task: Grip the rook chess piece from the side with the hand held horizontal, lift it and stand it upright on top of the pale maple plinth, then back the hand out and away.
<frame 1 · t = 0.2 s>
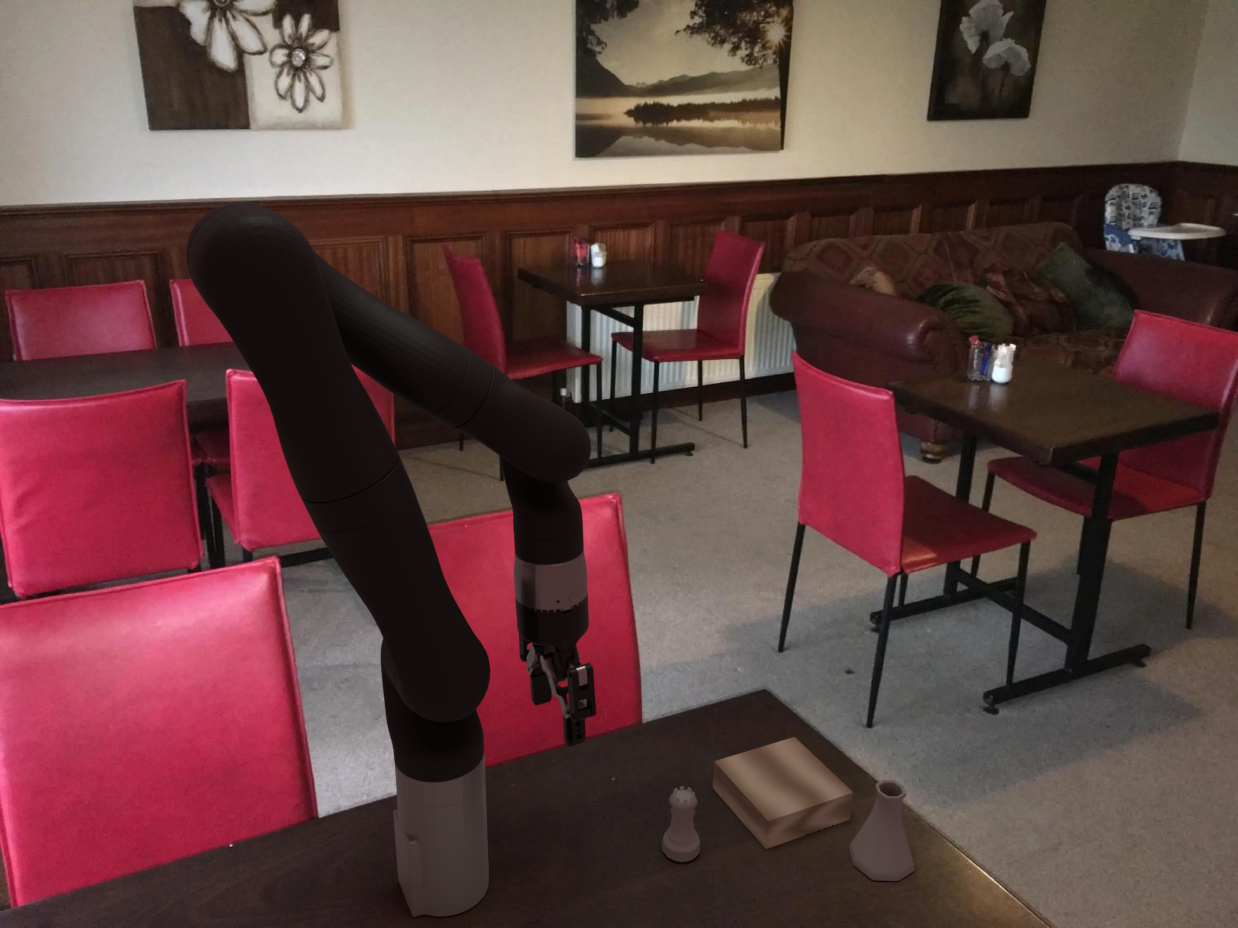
hand: (558, 721, 112), 17 cm above the table, tool pointing down, fingers open, 8 cm apart
maple plinth: (779, 803, 126), on the table
flask: (880, 861, 118), on the table
rook chess piece: (680, 851, 119), on the table
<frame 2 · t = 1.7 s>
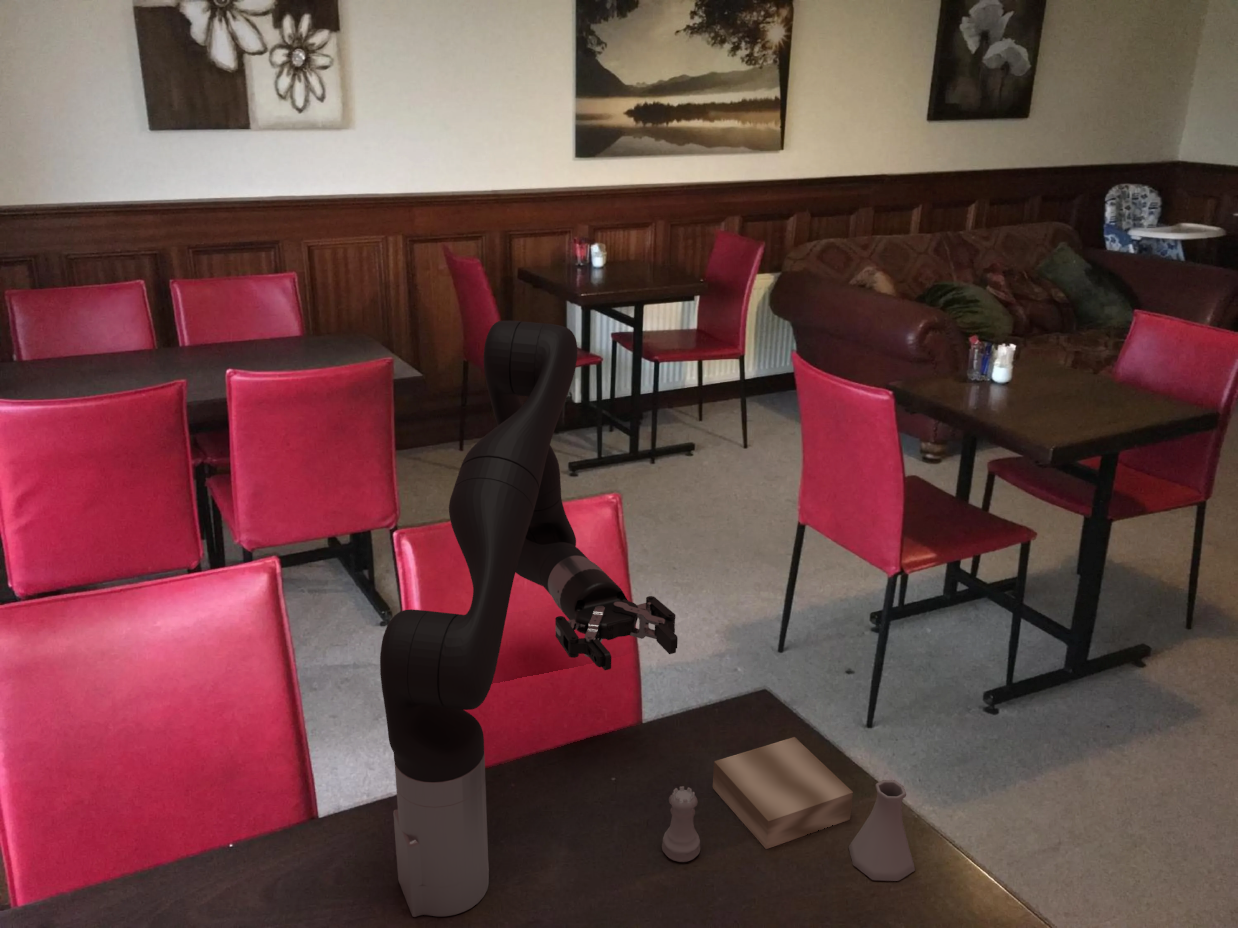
hand: (641, 654, 121), 20 cm above the table, tool horizontal, fingers open, 8 cm apart
nothing on the table moved.
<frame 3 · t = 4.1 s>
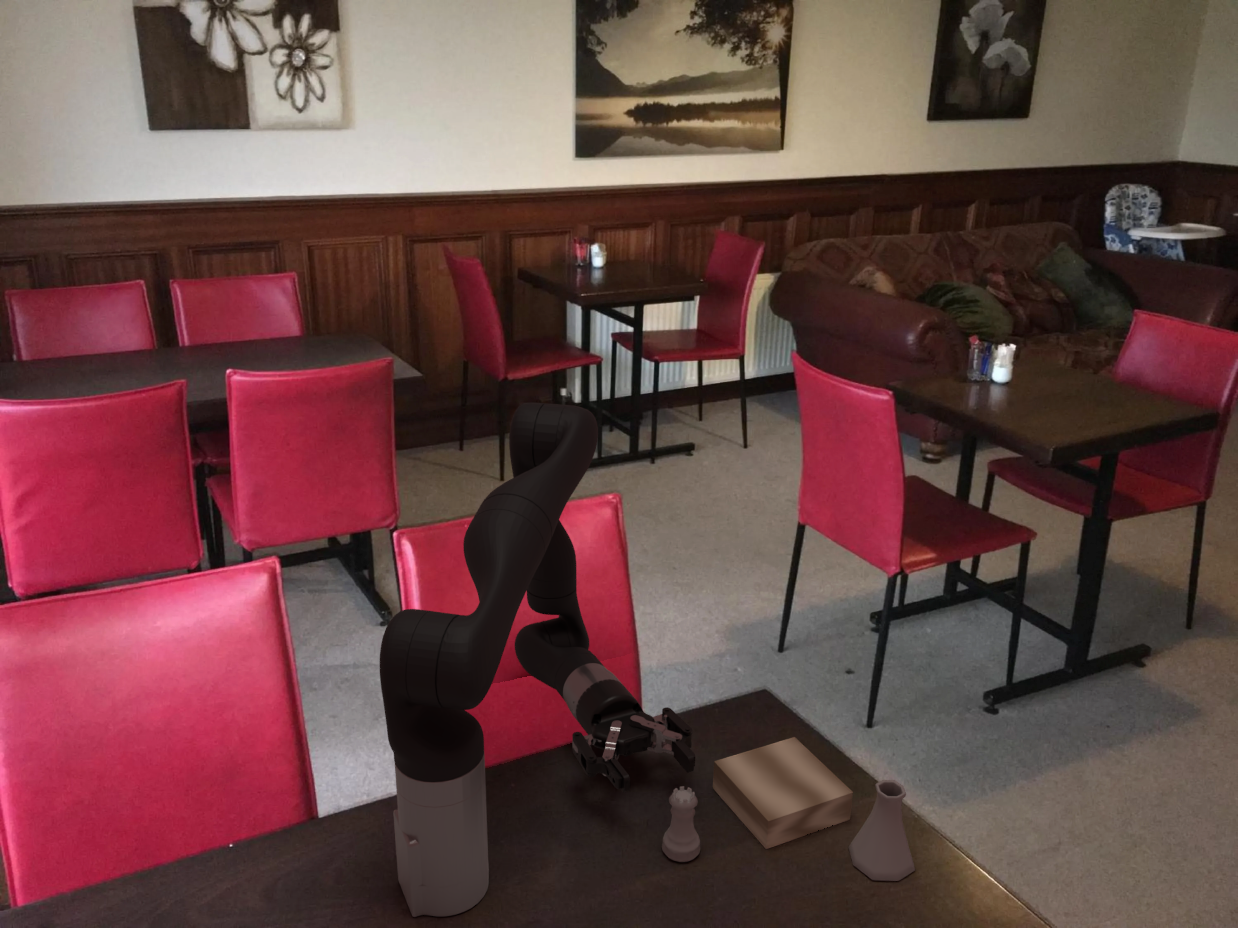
hand: (660, 775, 121), 7 cm above the table, tool horizontal, fingers open, 8 cm apart
nothing on the table moved.
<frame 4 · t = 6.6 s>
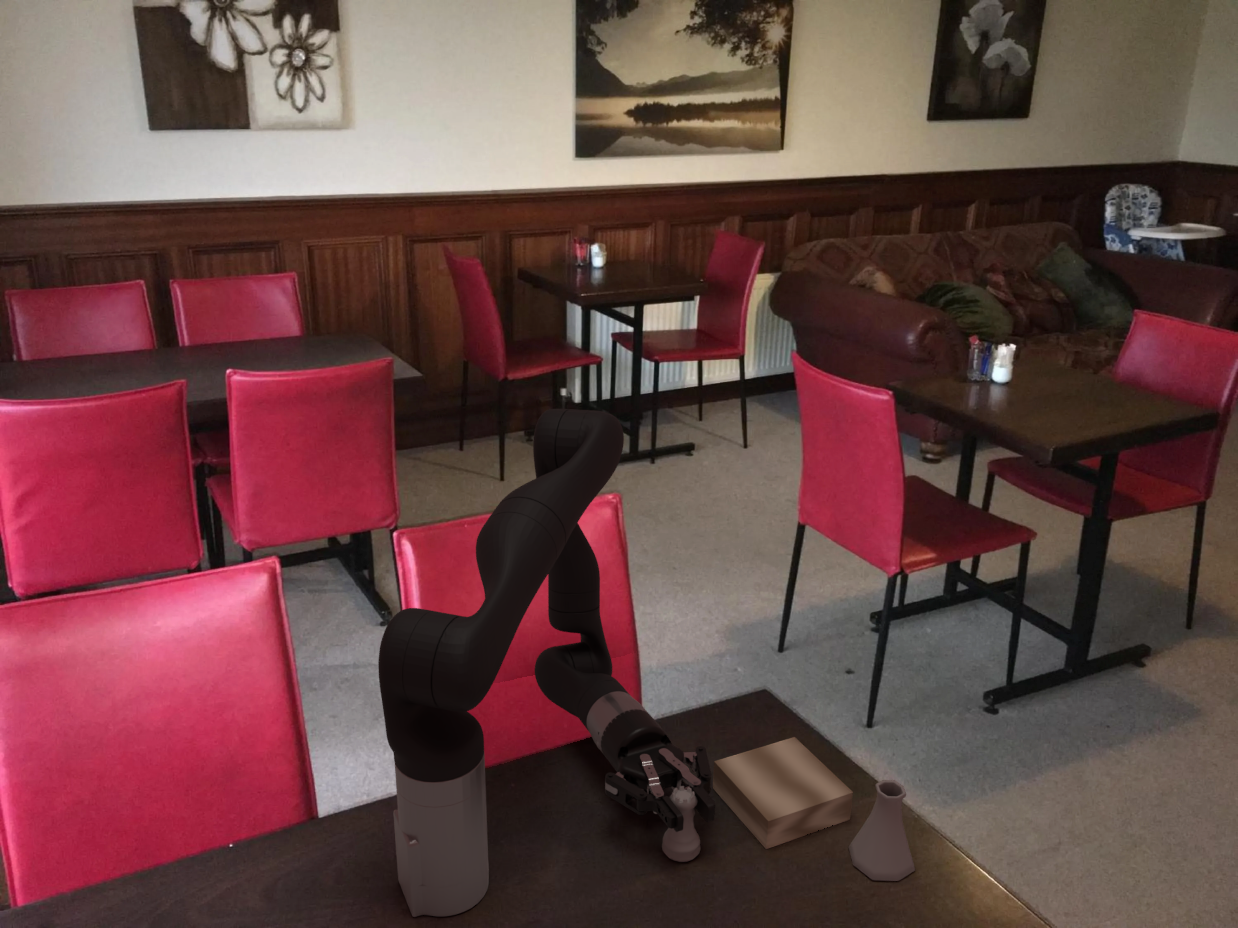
hand: (695, 819, 114), 7 cm above the table, tool horizontal, fingers closed on rook chess piece, 3 cm apart
rook chess piece: (680, 851, 119), on the table, touching gripper
everything else where it was.
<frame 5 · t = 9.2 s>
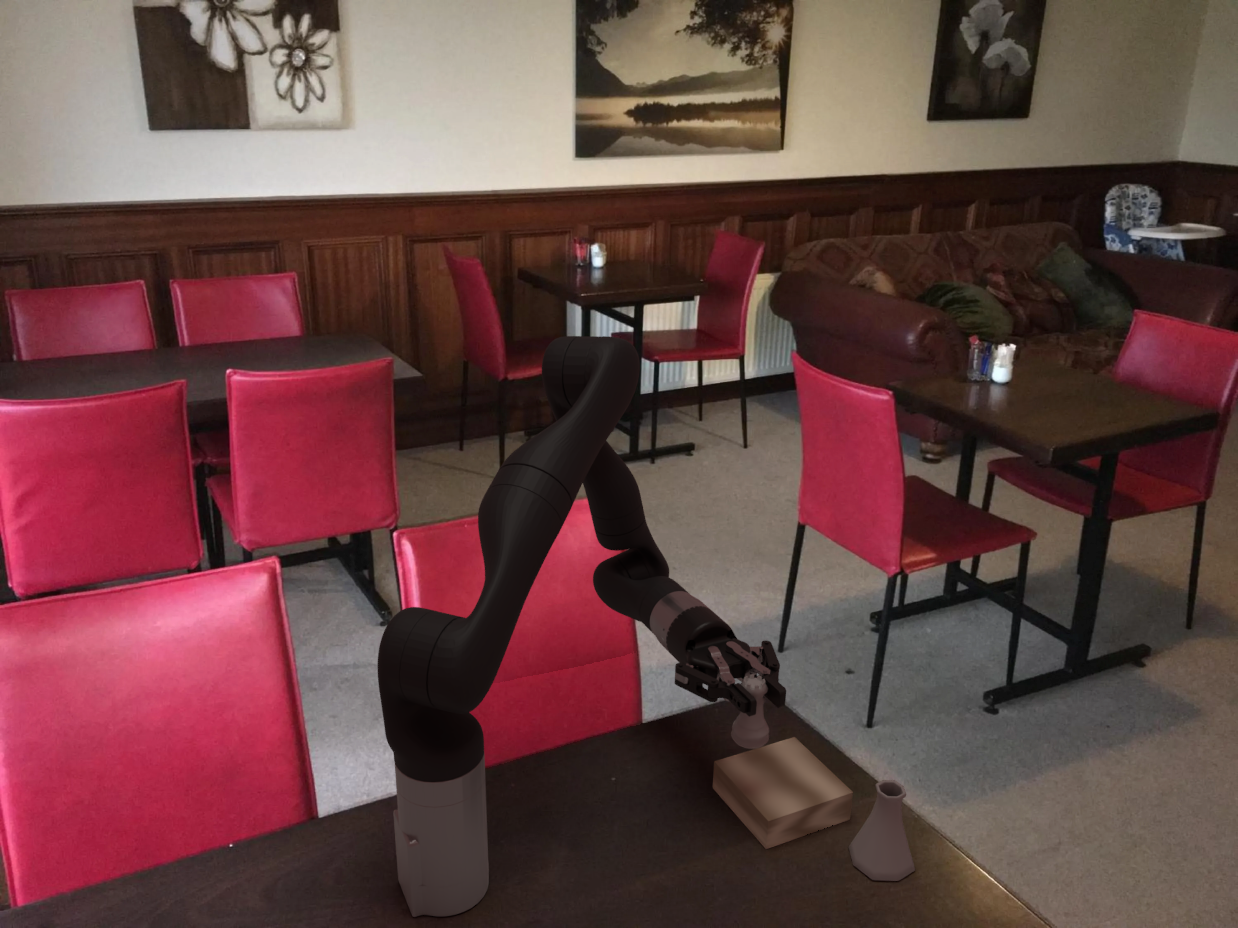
hand: (768, 704, 115), 18 cm above the table, tool horizontal, fingers closed on rook chess piece, 3 cm apart
rook chess piece: (749, 740, 120), point 11 cm above the table, touching gripper
everything else where it was.
when the fingers open (12 cm above the table, at t = 11.8 s): rook chess piece drops 1 cm, resting on maple plinth.
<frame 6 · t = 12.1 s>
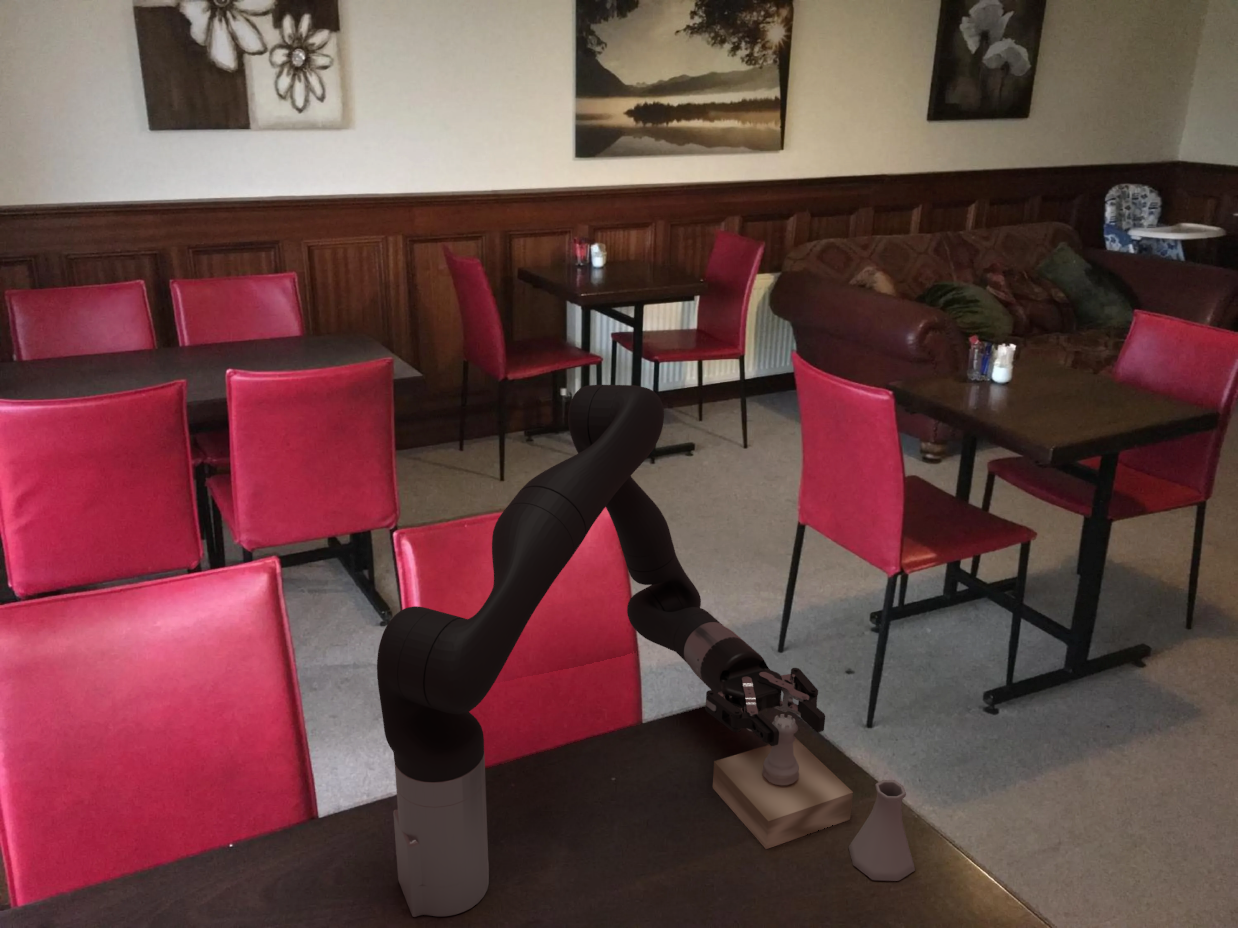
hand: (799, 731, 120), 12 cm above the table, tool horizontal, fingers open, 6 cm apart
rook chess piece: (780, 777, 125), point 4 cm above the table, touching maple plinth
everything else where it was.
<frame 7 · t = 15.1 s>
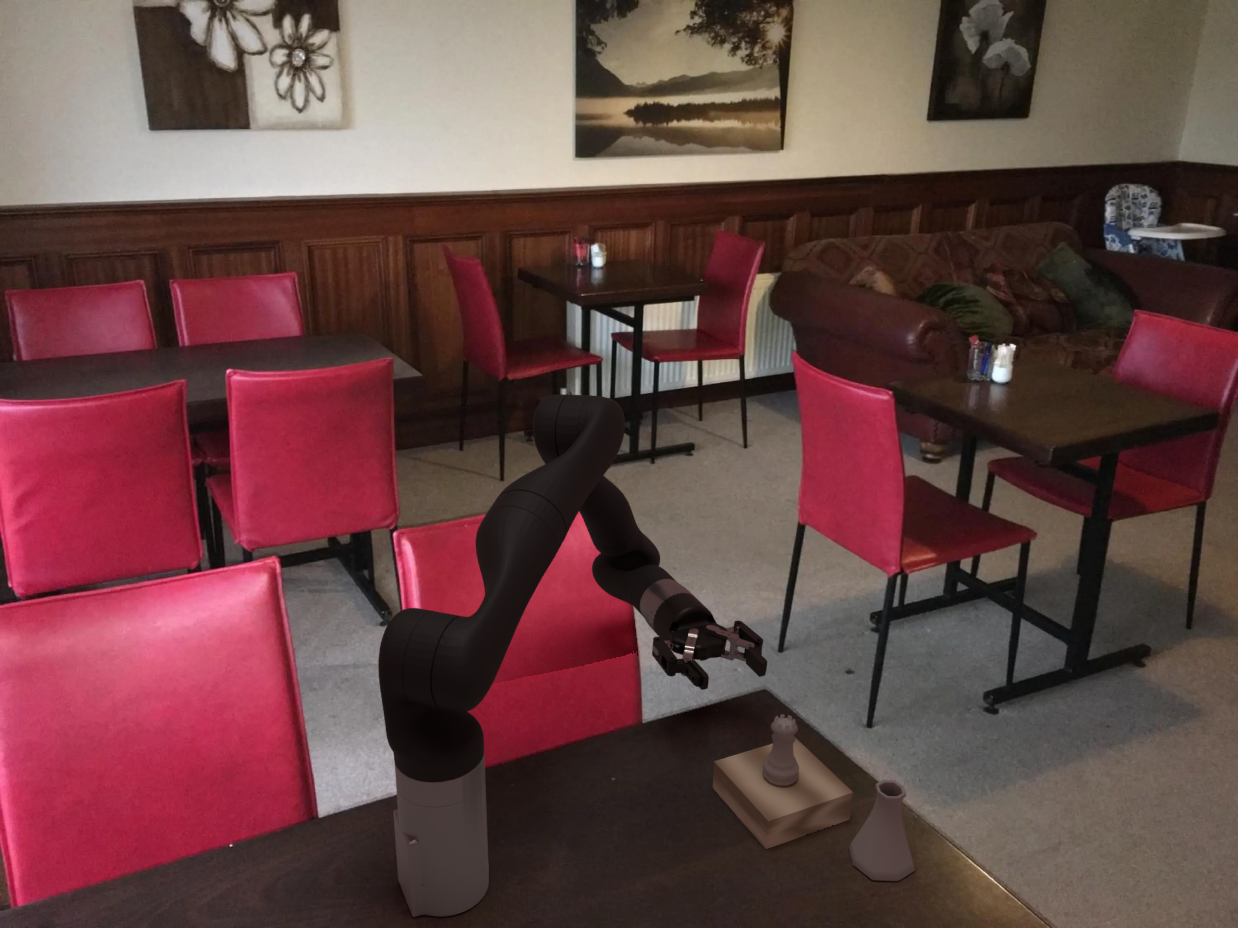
hand: (735, 676, 131), 12 cm above the table, tool horizontal, fingers open, 8 cm apart
nothing on the table moved.
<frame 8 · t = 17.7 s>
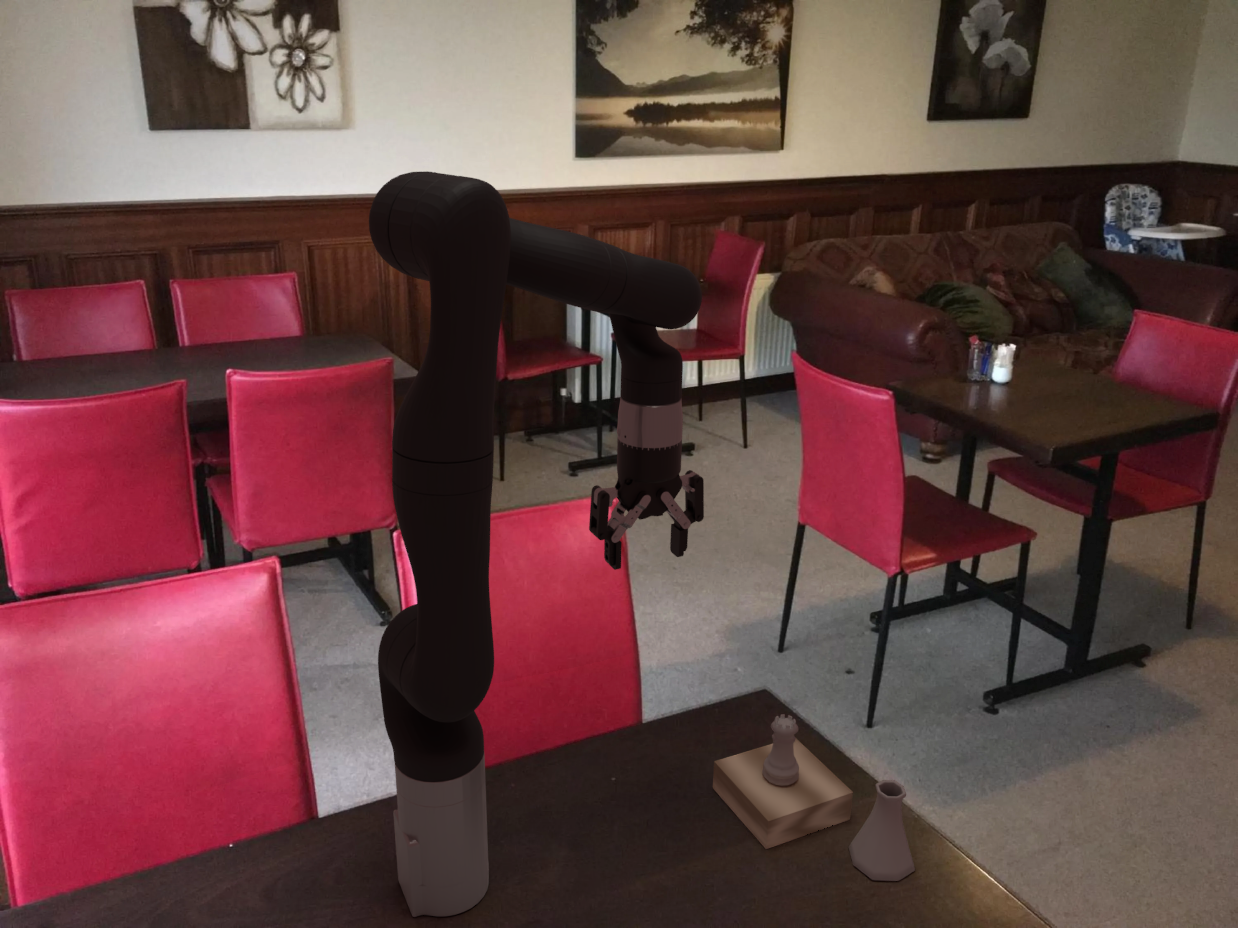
hand: (646, 560, 125), 28 cm above the table, tool pointing down, fingers open, 8 cm apart
nothing on the table moved.
at the end: rook chess piece inside the target area on the maple plinth (0.2 cm from its centre), point 3.8 cm above the maple plinth's base; rook chess piece tilted 0°; the gripper is holding nothing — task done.
